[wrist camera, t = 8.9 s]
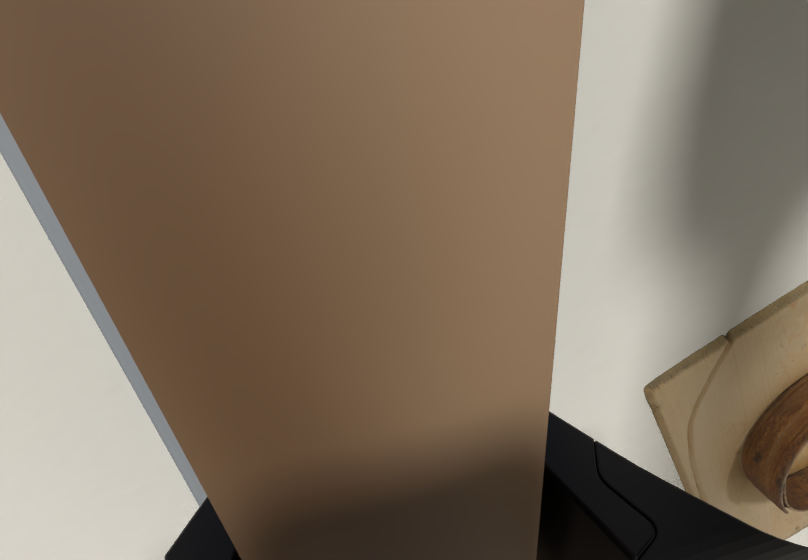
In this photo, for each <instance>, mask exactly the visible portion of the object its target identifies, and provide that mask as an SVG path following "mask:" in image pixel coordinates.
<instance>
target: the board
mask: <svg viewBox="0 0 808 560" xmlns="http://www.w3.org/2000/svg"><path fill="white" fill-rule="evenodd" d="M644 393H645V397H646V399H647V401H648V404H649V405H650V407H651V409H652V412H653V415H654V417H655V419H656V421H657V424H658V426H659V429H660V431H661V434H662V436H663V438H664V440H665V443H666V445H667V448H668V450H669V452H670V455H671V457H672V460H673V462H674V465H675V467H676V469H677V472H678V474H679V476H680V479H681V481H682V484H683V486H684V489H685V491H686V492H687V493H689V494H691V495H693V496H695V497H697V498H699V499H701V500H703V501H705V502H706V503H708V504H710V505H712V506H714V507H716V508H718V509H720V510H722V511H724V512H726V513H728V514H729V515H731V516H733V517H735V518H737V519H739V520H741V521H743V522H745V523H747V524H749V525H751V526H753V527H755V528H757V529H759V530H761V531H763V532H765V533H768V534H770V535H773V536H775V537H777V538H780V539H783V540H785V539H787V538H789V537H791V536H793V535H794V534H796V533H797V532H799V531H801V530H802V529H804V528H806V527H807V526H808V281H806V282H805V283H803V284H801V285H800V286H798V287H797V288H795V289H794V290H792V291H791V292H789V293H787V294H786V295H784V296H782V297H781V298H779V299H778V300H776V301H775V302H773V303H772V304H770V305H769V306H767V307H765V308H764V309H762V310H761V311H759V312H757V313H756V314H754V315H753V316H751V317H749V318H748V319H746V320H745V321H743V322H742V323H740V324H739V325H737V326H736V327H734V328H732V329H731V330H729V331H728V333H727V335H726V336H723V335H721V336H720V337H718V338H717V339H715V340H714V341H712V342H710V343H709V344H707V345H706V346H704V347H703V348H701V349H699V350H698V351H696V352H695V353H693V354H692V355H690V356H689V357H687V358H686V359H684V360H683V361H681V362H680V363H678V364H677V365H675V366H674V367H672V368H671V369H669V370H668V371H666V372H665V373H663V374H662V375H660V376H659V377H657V378H656V379H654V380H653V381H652V382H650V383H649V384H648V385H646V386H645V387H644Z"/></svg>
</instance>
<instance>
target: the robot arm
mask: <svg viewBox="0 0 808 560" xmlns="http://www.w3.org/2000/svg"><path fill="white" fill-rule="evenodd" d="M165 560H242V559H241V558H240V556H239V554H238V552H237V550H236V548H235V546H234V545H233V543H232V541H231V539H230V537H229V535H228V534H227V532H226V530H225V528H224V526H223V524H222V522H221V521H220V519H219V517H218V515H217V513H216V511H215V510H214V508H213V506H212V504H211V502H210V500H209V498H208V497H206V499H205V500H204V502H203V503H202V504H201V506H200V507H199V509H198V510H197V511H196V513H195V514H194V516H193V517H192V518H191V520H190V521H189V523H188V524H187V526H186V527H185V528H184V530H183V531H182V533H181V534H180V535H179V537H178V538H177V540H176V541H175V542H174V544H173V545H172V547H171V548H170V549H169V551H168V552H167V554H166V555H165ZM536 560H808V547H805V546H801V545H798V544H794V543H791V542H789V541H786V540H783V539H780V538H777V537H775V536H773V535H770V534H768V533H765V532H763V531H761V530H759V529H757V528H755V527H753V526H751V525H749V524H747V523H745V522H743V521H741V520H739V519H737V518H735V517H733V516H731V515H729V514H728V513H726V512H724V511H722V510H720V509H718V508H716V507H714V506H712V505H710V504H708V503H706V502H705V501H703V500H701V499H699V498H697V497H695V496H693V495H691V494H689V493H687V492H685V491H683V490H682V489H680V488H678V487H676V486H674V485H672V484H670V483H668V482H666V481H665V480H663V479H661V478H659V477H657V476H655V475H654V474H652V473H650V472H648V471H646V470H644V469H643V468H641V467H639V466H637V465H636V464H634V463H632V462H631V461H629V460H627V459H626V458H624V457H622V456H621V455H619V454H617V453H615V452H614V451H612V450H611V449H609V448H607V447H606V446H604V445H603V444H601V443H599V442H598V441H595V442H594V440H593V438H591V437H589V436H588V435H586V434H585V433H583V432H581V431H580V430H578V429H577V428H575V427H573V426H572V425H570V424H569V423H567V422H565V421H564V420H562V419H561V418H559V417H557V416H556V415H554V414H553V413H551V412H549V416H548V428H547V439H546V451H545V463H544V474H543V486H542V497H541V509H540V520H539V532H538V543H537V555H536Z"/></svg>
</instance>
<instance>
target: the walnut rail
mask: <svg viewBox="0 0 808 560" xmlns="http://www.w3.org/2000/svg"><path fill="white" fill-rule="evenodd" d="M583 12H584V0H0V114H1V116H2V117H3V119H4V121H5V123H6V125H7V127H8V129H9V130H10V132H11V134H12V136H13V138H14V140H15V141H16V143H17V145H18V147H19V149H20V151H21V153H22V154H23V156H24V158H25V160H26V162H27V164H28V166H29V167H30V169H31V171H32V173H33V175H34V177H35V178H36V180H37V182H38V184H39V186H40V188H41V190H42V191H43V193H44V195H45V197H46V199H47V201H48V203H49V204H50V206H51V208H52V210H53V212H54V214H55V215H56V217H57V219H58V221H59V223H60V225H61V227H62V228H63V230H64V232H65V234H66V236H67V238H68V240H69V241H70V243H71V245H72V247H73V249H74V251H75V252H76V254H77V256H78V258H79V260H80V262H81V264H82V265H83V267H84V269H85V271H86V273H87V275H88V276H89V278H90V280H91V282H92V284H93V286H94V288H95V289H96V291H97V293H98V295H99V297H100V299H101V301H102V302H103V304H104V306H105V308H106V310H107V312H108V313H109V315H110V317H111V319H112V321H113V323H114V325H115V326H116V328H117V330H118V332H119V334H120V336H121V338H122V339H123V341H124V343H125V345H126V347H127V349H128V350H129V352H130V354H131V356H132V358H133V360H134V362H135V363H136V365H137V367H138V369H139V371H140V373H141V375H142V376H143V378H144V380H145V382H146V384H147V386H148V387H149V389H150V391H151V393H152V395H153V397H154V399H155V400H156V402H157V404H158V406H159V408H160V410H161V411H162V413H163V415H164V417H165V419H166V421H167V423H168V424H169V426H170V428H171V430H172V432H173V434H174V436H175V437H176V439H177V441H178V443H179V445H180V447H181V448H182V450H183V452H184V454H185V456H186V458H187V460H188V461H189V463H190V465H191V467H192V469H193V471H194V473H195V474H196V476H197V478H198V480H199V482H200V484H201V485H202V487H203V489H204V491H205V493H206V495H207V497H208V498H209V500H210V502H211V504H212V506H213V508H214V510H215V511H216V513H217V515H218V517H219V519H220V521H221V522H222V524H223V526H224V528H225V530H226V532H227V534H228V535H229V537H230V539H231V541H232V543H233V545H234V546H235V548H236V550H237V552H238V554H239V556H240V558H241V559H242V560H536V555H537V543H538V532H539V520H540V509H541V497H542V486H543V474H544V463H545V451H546V439H547V428H548V416H549V405H550V393H551V382H552V370H553V359H554V347H555V335H556V324H557V312H558V301H559V289H560V278H561V266H562V255H563V243H564V231H565V220H566V208H567V197H568V185H569V174H570V162H571V151H572V139H573V128H574V116H575V104H576V93H577V81H578V70H579V58H580V47H581V35H582V24H583Z"/></svg>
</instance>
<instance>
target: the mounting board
mask: <svg viewBox="0 0 808 560" xmlns="http://www.w3.org/2000/svg"><path fill="white" fill-rule="evenodd" d="M0 152H1V154H2V156H3V158H4V160H5V161H6V163H7V165H8V167H9V168H10V170H11V172H12V174H13V176H14V177H15V179H16V181H17V183H18V184H19V186H20V188H21V190H22V192H23V193H24V195H25V197H26V199H27V200H28V202H29V204H30V206H31V208H32V209H33V211H34V213H35V215H36V216H37V218H38V220H39V222H40V224H41V225H42V227H43V229H44V231H45V232H46V234H47V236H48V238H49V240H50V241H51V243H52V245H53V247H54V248H55V250H56V252H57V254H58V256H59V257H60V259H61V261H62V263H63V264H64V266H65V268H66V270H67V272H68V273H69V275H70V277H71V279H72V280H73V282H74V284H75V286H76V288H77V289H78V291H79V293H80V295H81V296H82V298H83V300H84V302H85V304H86V305H87V307H88V309H89V311H90V312H91V314H92V316H93V318H94V320H95V321H96V323H97V325H98V327H99V328H100V330H101V332H102V334H103V336H104V337H105V339H106V341H107V343H108V344H109V346H110V348H111V350H112V352H113V353H114V355H115V357H116V359H117V360H118V362H119V364H120V366H121V368H122V369H123V371H124V373H125V375H126V376H127V378H128V380H129V382H130V384H131V385H132V387H133V389H134V391H135V392H136V394H137V396H138V398H139V400H140V401H141V403H142V405H143V407H144V408H145V410H146V412H147V414H148V416H149V417H150V419H151V421H152V423H153V424H154V426H155V428H156V430H157V432H158V433H159V435H160V437H161V439H162V440H163V442H164V444H165V446H166V448H167V449H168V451H169V453H170V455H171V456H172V458H173V460H174V462H175V464H176V465H177V467H178V469H179V471H180V472H181V474H182V476H183V478H184V480H185V481H186V483H187V485H188V487H189V488H190V490H191V492H192V494H193V496H194V497H195V499H196V501H197V503H198V504H199V506H201V504H202V503H203V502H204V500H205V499H206V497H207V495H206V493H205V491H204V489H203V487H202V485H201V484H200V482H199V480H198V478H197V476H196V474H195V473H194V471H193V469H192V467H191V465H190V463H189V461H188V460H187V458H186V456H185V454H184V452H183V450H182V448H181V447H180V445H179V443H178V441H177V439H176V437H175V436H174V434H173V432H172V430H171V428H170V426H169V424H168V423H167V421H166V419H165V417H164V415H163V413H162V411H161V410H160V408H159V406H158V404H157V402H156V400H155V399H154V397H153V395H152V393H151V391H150V389H149V387H148V386H147V384H146V382H145V380H144V378H143V376H142V375H141V373H140V371H139V369H138V367H137V365H136V363H135V362H134V360H133V358H132V356H131V354H130V352H129V350H128V349H127V347H126V345H125V343H124V341H123V339H122V338H121V336H120V334H119V332H118V330H117V328H116V326H115V325H114V323H113V321H112V319H111V317H110V315H109V313H108V312H107V310H106V308H105V306H104V304H103V302H102V301H101V299H100V297H99V295H98V293H97V291H96V289H95V288H94V286H93V284H92V282H91V280H90V278H89V276H88V275H87V273H86V271H85V269H84V267H83V265H82V264H81V262H80V260H79V258H78V256H77V254H76V252H75V251H74V249H73V247H72V245H71V243H70V241H69V240H68V238H67V236H66V234H65V232H64V230H63V228H62V227H61V225H60V223H59V221H58V219H57V217H56V215H55V214H54V212H53V210H52V208H51V206H50V204H49V203H48V201H47V199H46V197H45V195H44V193H43V191H42V190H41V188H40V186H39V184H38V182H37V180H36V178H35V177H34V175H33V173H32V171H31V169H30V167H29V166H28V164H27V162H26V160H25V158H24V156H23V154H22V153H21V151H20V149H19V147H18V145H17V143H16V141H15V140H14V138H13V136H12V134H11V132H10V130H9V129H8V127H7V125H6V123H5V121H4V119H3V117H2V116H1V114H0Z"/></svg>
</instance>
